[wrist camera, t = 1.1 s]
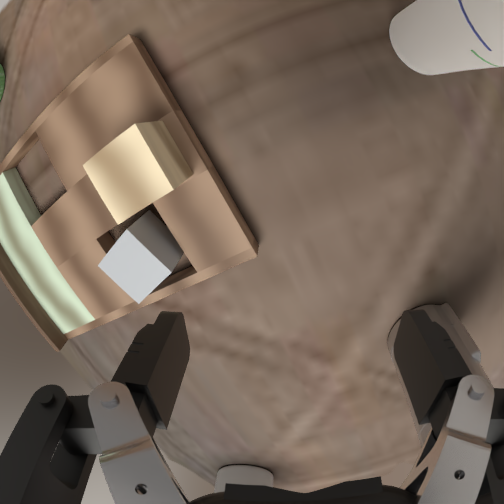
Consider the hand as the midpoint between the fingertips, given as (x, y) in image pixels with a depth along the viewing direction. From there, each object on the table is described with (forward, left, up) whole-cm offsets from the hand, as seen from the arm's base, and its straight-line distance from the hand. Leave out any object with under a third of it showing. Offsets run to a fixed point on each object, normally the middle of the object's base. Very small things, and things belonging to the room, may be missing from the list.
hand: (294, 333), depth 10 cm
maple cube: (+8, -8, -17) cm, 21 cm away
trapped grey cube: (+14, -1, -19) cm, 24 cm away
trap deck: (+19, -8, -19) cm, 29 cm away
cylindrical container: (-20, -8, -20) cm, 29 cm away
